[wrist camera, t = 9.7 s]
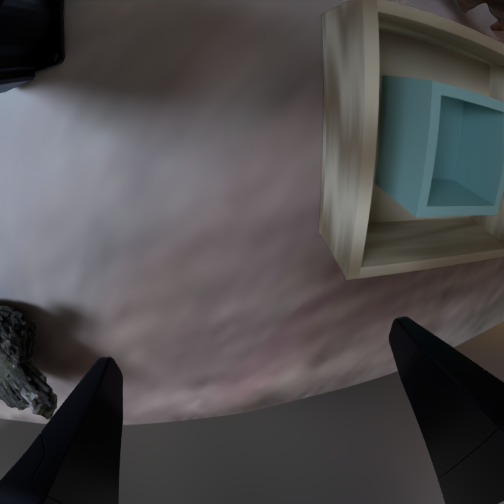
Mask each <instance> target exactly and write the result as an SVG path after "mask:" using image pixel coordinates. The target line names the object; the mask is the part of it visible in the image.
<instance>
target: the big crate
mask: <svg viewBox="0 0 504 504" xmlns="http://www.w3.org/2000/svg"><path fill="white" fill-rule="evenodd" d="M322 37H323V85H324V106H323V157H322V182H321V202H320V219H319V233H320V234H321V236H322V238H323V239H324V241H325V243H326V244H327V246H328V248H329V250H330V251H331V253H332V255H333V256H334V258H335V260H336V262H337V263H338V265H339V267H340V269H341V270H342V272H343V274H344V276H345V277H346V279H347V280H351V279H359V278H367V277H374V276H382V275H389V274H397V273H404V272H411V271H418V270H425V269H431V268H438V267H445V266H451V265H457V264H464V263H470V262H476V261H482V260H487V259H493V258H499V257H504V190H503V194H502V198H501V202H500V206H499V210H498V214H497V215H471V216H440V217H415V216H414V215H412V214H411V213H410V212H409V211H408V210H407V209H405V208H404V207H403V206H402V205H401V204H399V203H398V202H397V201H396V200H395V199H393V198H392V197H391V196H390V195H389V194H387V193H386V192H385V191H384V190H382V189H381V188H380V187H379V186H377V185H376V184H375V179H376V170H377V160H378V149H379V137H380V122H381V103H382V75H385V76H398V77H408V78H417V79H425V80H433V81H437V82H441V83H445V84H448V85H452V86H456V87H459V88H463V89H466V90H470V91H473V92H476V93H479V94H482V95H485V96H488V97H491V98H494V99H497V100H500V101H503V102H504V44H503V43H501V42H499V41H497V40H495V39H493V38H491V37H489V36H486V35H484V34H482V33H480V32H478V31H476V30H473V29H471V28H469V27H466V26H464V25H462V24H459V23H457V22H454V21H452V20H449V19H446V18H444V17H441V16H438V15H435V14H432V13H429V12H426V11H423V10H420V9H417V8H414V7H410V6H407V5H403V4H400V3H396V2H392V1H388V0H350V1H348V2H345V3H343V4H341V5H339V6H338V7H336V8H334V9H332V10H330V11H328V12H326V13H324V14H322Z"/></svg>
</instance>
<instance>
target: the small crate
mask: <svg viewBox="0 0 504 504" xmlns="http://www.w3.org/2000/svg"><path fill="white" fill-rule="evenodd" d="M375 184H376V185H377V186H379V187H380V188H381V189H382V190H384V191H385V192H386V193H387V194H389V195H390V196H391V197H392V198H393V199H395V200H396V201H397V202H398V203H399V204H401V205H402V206H403V207H404V208H405V209H407V210H408V211H409V212H410V213H411V214H412V215H414V216H415V217H440V216H471V215H497V214H498V210H499V206H500V202H501V198H502V194H503V190H504V102H503V101H500V100H497V99H494V98H491V97H488V96H485V95H482V94H479V93H476V92H473V91H470V90H466V89H463V88H459V87H456V86H452V85H448V84H445V83H441V82H437V81H433V80H425V79H417V78H408V77H398V76H385V75H382V103H381V122H380V137H379V149H378V160H377V170H376V179H375Z"/></svg>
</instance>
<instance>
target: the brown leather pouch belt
mask: <svg viewBox="0 0 504 504" xmlns="http://www.w3.org/2000/svg"><path fill="white" fill-rule="evenodd" d="M457 2H458V4H459V6H460V8H461V9H462V11H463V12H464V13H466V12H467V11H468V10H470V9H472V8H474V7H476V6H477V5H479V4H482V3H487V4H488V7H489V10H490V12H491V13H492V14H493V15H494V16H495V17H496V18H497V19H498V21H497V22H496V23H494V24H493V25H491V30H497V31H503V30H504V0H457Z"/></svg>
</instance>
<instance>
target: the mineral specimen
mask: <svg viewBox="0 0 504 504" xmlns="http://www.w3.org/2000/svg"><path fill="white" fill-rule="evenodd" d="M35 329H36V325H35V323H34V321H33V322H31V324H29V323H28V319H27V316H26V314H22V313H20V312H19V311H18V310H16V309H15V308H12V307H9V306H1V305H0V399H1V400H3V401H4V402H5V403H6V405H7V406H9V407H11V408H14V407H16V408H18V410H24V409H25V408H27V407H31V409H32V412H33V414H37V415H41V416H43V417H45V418H46V419H51V418H52V415H53V413H54V410H55V409H56V408H57V395H56V394H54V393H53V390H52V388H51V387H50V386H49V385H48V384H47V383H46V377H45V376H44V375H43V374H42V373H41V372H40V371H39V369H38V368H37V366H36V364H35V362H34V361H33V359H32V357H31V356H32V351H33V348H32V347H33V344H34V341H35Z"/></svg>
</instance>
